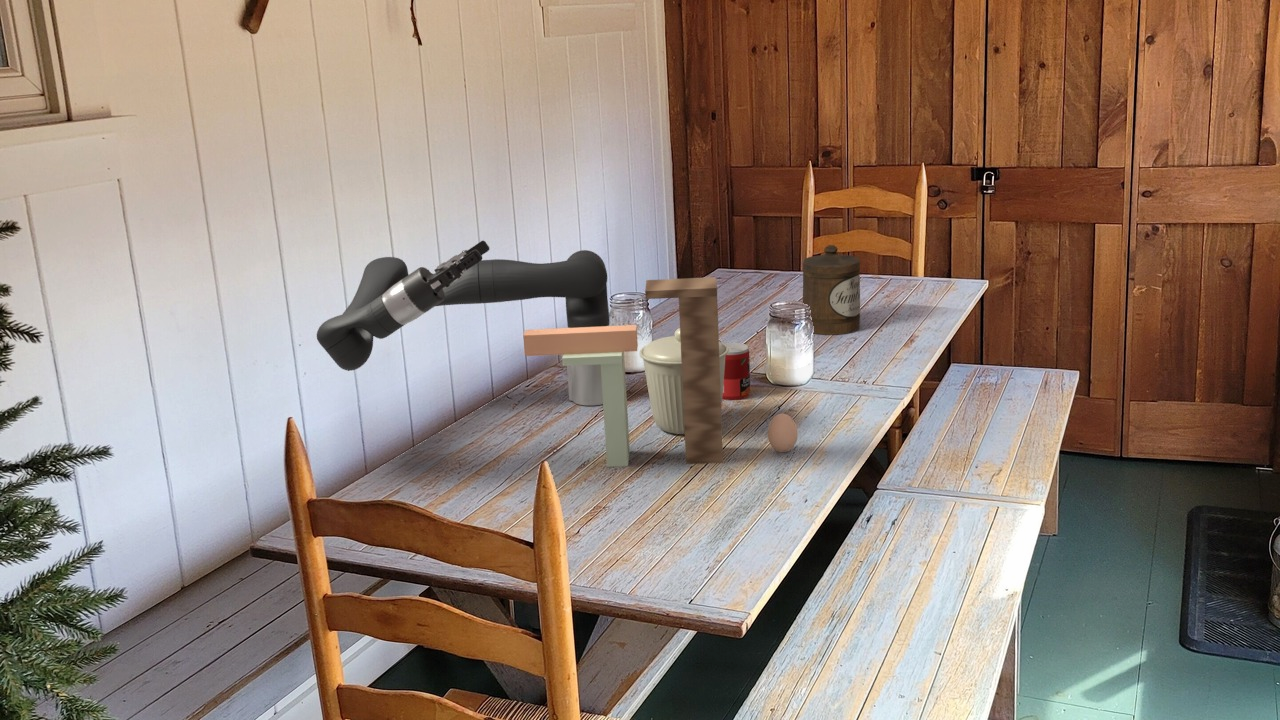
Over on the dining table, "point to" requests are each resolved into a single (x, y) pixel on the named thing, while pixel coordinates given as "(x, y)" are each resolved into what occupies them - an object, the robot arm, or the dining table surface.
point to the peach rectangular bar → (580, 340)
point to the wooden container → (832, 292)
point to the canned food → (736, 372)
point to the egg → (782, 433)
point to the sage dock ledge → (610, 401)
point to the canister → (670, 380)
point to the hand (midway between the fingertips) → (483, 249)
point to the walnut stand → (697, 363)
